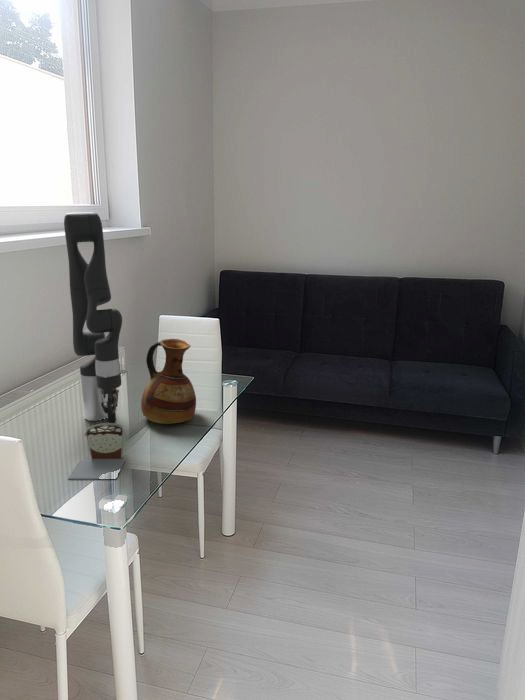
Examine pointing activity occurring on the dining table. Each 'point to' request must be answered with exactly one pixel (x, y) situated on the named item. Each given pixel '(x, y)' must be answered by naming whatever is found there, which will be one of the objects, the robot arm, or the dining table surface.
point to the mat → (94, 468)
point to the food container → (105, 441)
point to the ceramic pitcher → (168, 386)
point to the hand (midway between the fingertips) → (112, 422)
